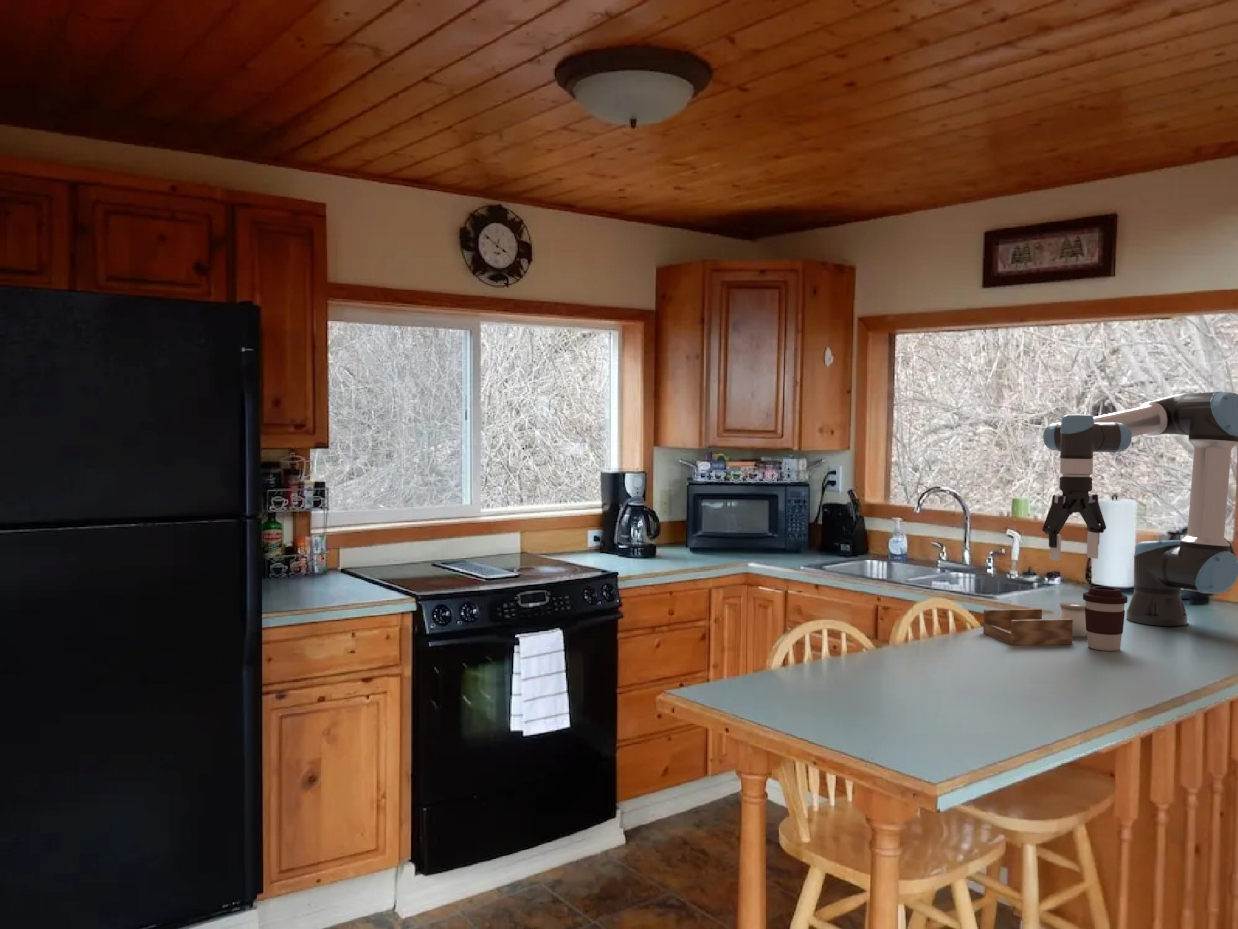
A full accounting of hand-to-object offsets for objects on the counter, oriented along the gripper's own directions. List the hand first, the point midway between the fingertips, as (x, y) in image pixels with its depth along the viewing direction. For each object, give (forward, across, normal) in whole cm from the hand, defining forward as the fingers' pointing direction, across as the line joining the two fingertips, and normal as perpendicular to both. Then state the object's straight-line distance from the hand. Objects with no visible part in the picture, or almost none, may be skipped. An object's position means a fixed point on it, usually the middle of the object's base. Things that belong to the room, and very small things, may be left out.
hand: (1073, 559), depth 246 cm
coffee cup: (+22, -3, +7) cm, 23 cm away
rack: (+22, +5, -9) cm, 24 cm away
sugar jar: (+22, -11, -8) cm, 25 cm away
